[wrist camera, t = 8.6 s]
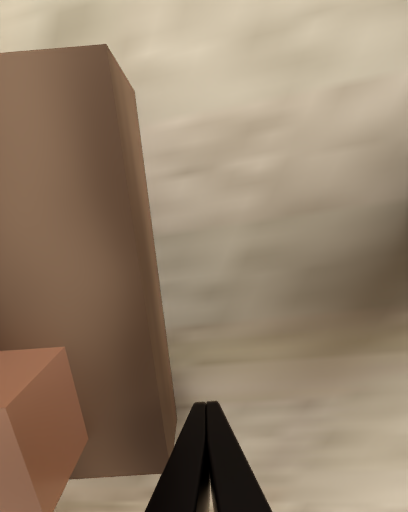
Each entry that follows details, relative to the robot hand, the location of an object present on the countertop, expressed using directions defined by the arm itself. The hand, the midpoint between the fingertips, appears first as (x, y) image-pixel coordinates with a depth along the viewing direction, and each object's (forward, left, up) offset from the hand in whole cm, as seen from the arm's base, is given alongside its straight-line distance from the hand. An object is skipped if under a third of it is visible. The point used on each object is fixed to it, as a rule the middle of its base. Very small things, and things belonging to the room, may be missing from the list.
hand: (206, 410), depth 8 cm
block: (+7, 0, -1) cm, 7 cm away
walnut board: (+8, -3, -4) cm, 9 cm away
